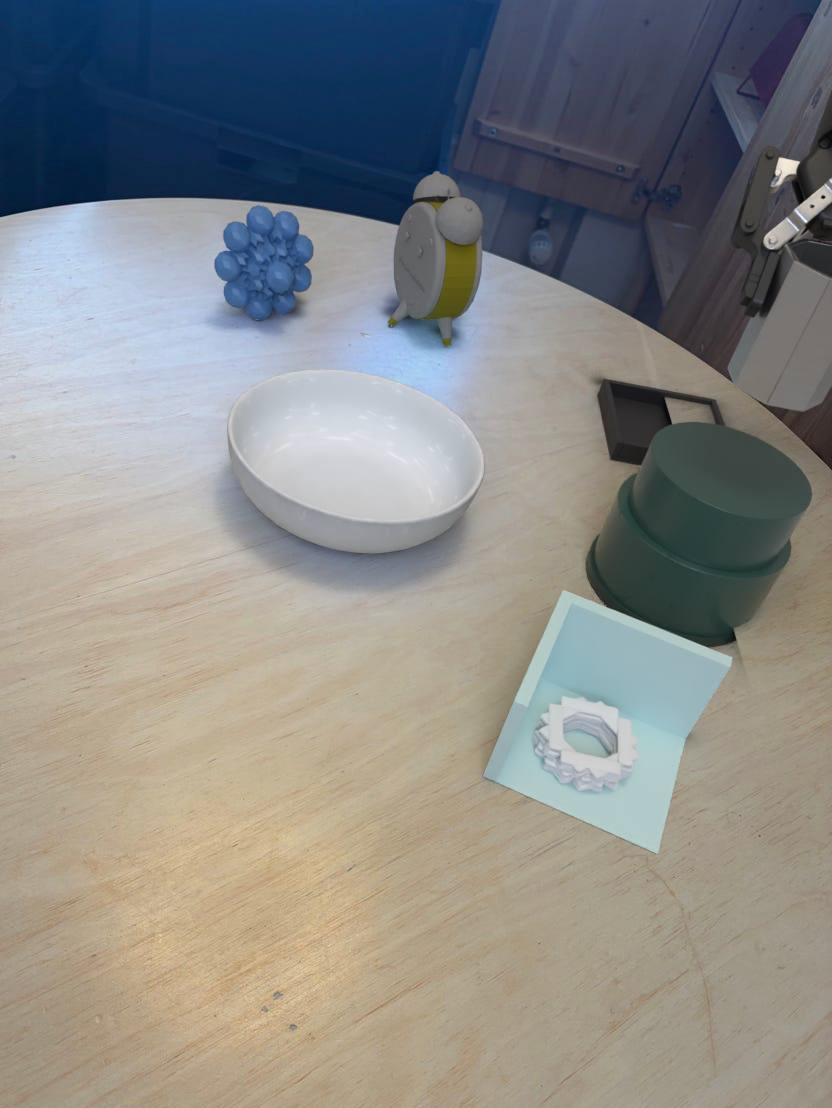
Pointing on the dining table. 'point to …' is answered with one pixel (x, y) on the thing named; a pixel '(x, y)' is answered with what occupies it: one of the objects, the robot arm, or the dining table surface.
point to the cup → (790, 332)
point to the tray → (638, 416)
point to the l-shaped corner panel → (605, 718)
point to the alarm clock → (437, 254)
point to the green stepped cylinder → (699, 532)
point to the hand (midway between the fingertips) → (808, 328)
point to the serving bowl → (353, 459)
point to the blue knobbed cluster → (264, 262)
